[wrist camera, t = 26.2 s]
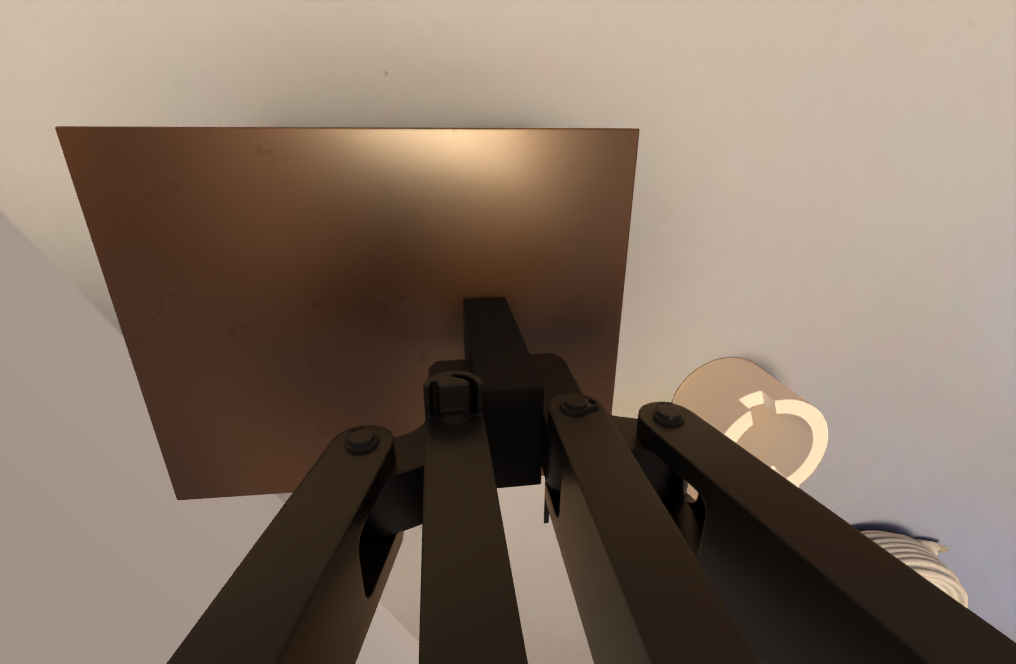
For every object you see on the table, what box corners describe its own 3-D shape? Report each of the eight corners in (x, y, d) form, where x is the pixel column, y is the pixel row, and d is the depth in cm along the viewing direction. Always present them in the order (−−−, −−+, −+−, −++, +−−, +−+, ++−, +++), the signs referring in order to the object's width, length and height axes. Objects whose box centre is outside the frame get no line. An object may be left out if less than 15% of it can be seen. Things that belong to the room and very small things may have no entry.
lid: (631, 128, 16) (640, 128, 16) (600, 460, 21) (606, 471, 21) (73, 126, 15) (53, 126, 14) (187, 487, 20) (176, 500, 19)
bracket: (660, 381, 39) (702, 428, 33) (761, 341, 39) (822, 381, 33) (704, 548, 47) (745, 610, 41) (788, 515, 47) (842, 573, 41)
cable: (949, 540, 52) (1011, 589, 46) (850, 650, 57) (894, 705, 51) (830, 503, 47) (883, 553, 41) (734, 626, 52) (769, 685, 47)
